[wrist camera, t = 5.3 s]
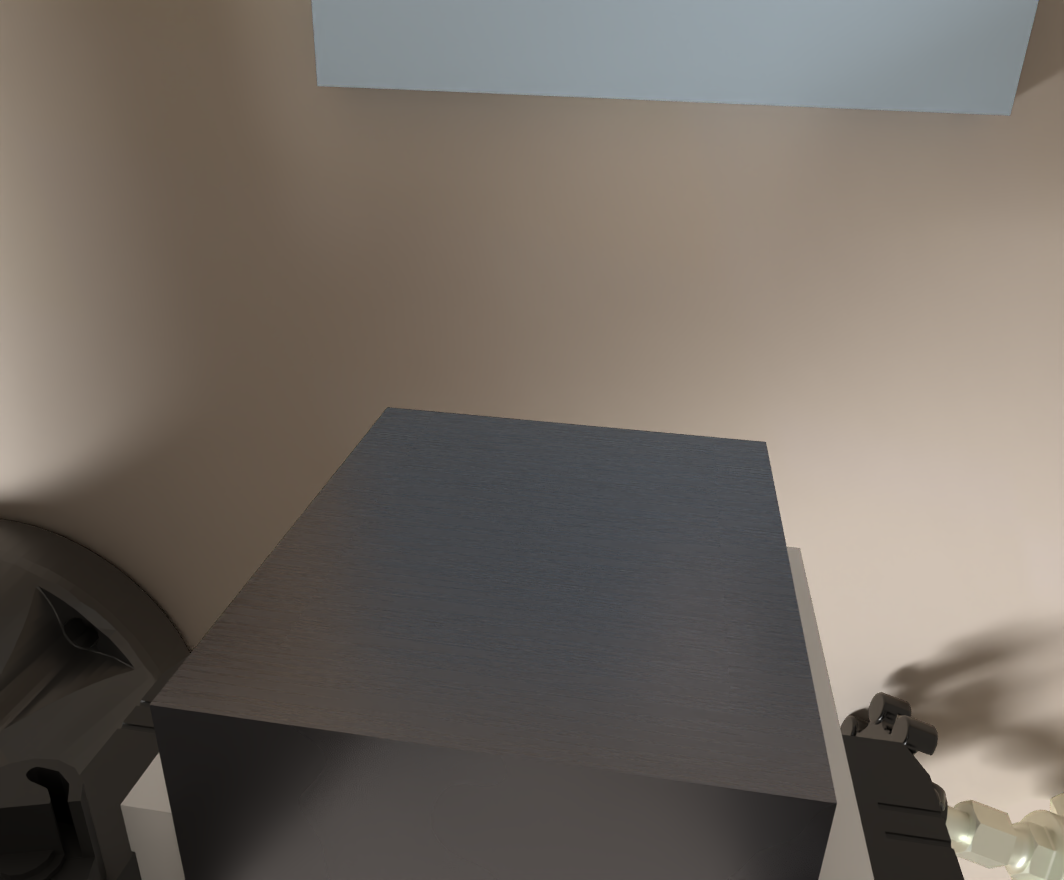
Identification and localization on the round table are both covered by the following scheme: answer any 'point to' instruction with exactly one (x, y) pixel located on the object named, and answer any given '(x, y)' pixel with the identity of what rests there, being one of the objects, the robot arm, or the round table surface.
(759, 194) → the round table surface
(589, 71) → the board
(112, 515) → the round table surface
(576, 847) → the brushed metal cube
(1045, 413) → the round table surface
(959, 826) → the valve
